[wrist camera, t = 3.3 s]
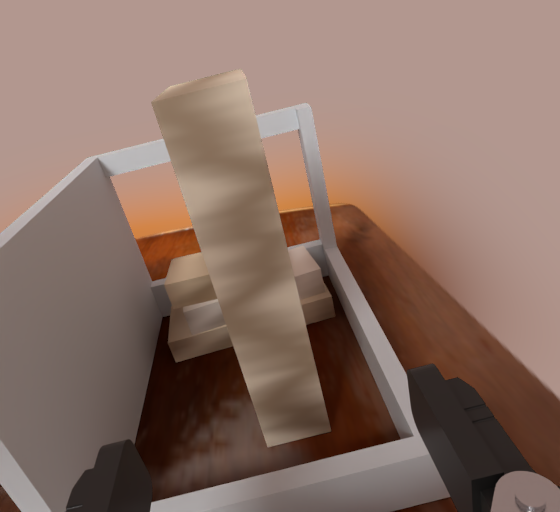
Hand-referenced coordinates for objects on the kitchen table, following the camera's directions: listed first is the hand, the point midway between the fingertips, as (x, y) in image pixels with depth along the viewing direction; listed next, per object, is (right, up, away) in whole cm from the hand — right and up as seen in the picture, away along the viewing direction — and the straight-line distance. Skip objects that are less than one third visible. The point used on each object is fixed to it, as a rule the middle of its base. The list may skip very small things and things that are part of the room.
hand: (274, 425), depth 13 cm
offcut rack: (-1, -3, +17) cm, 17 cm away
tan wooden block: (+1, -4, +14) cm, 14 cm away
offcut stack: (-2, 0, +22) cm, 22 cm away
